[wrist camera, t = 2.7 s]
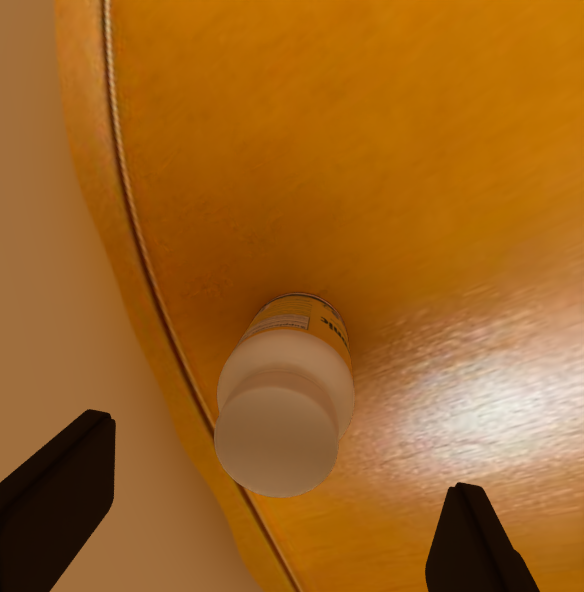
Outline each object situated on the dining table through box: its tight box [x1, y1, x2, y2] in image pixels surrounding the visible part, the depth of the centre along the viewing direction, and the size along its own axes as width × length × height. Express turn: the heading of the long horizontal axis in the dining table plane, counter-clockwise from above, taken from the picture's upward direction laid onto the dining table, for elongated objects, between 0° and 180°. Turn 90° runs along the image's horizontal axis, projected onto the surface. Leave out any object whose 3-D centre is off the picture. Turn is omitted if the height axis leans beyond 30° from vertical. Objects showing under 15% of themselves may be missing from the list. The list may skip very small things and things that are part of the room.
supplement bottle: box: [214, 293, 355, 498], centre depth 17 cm, size 5×5×10 cm
